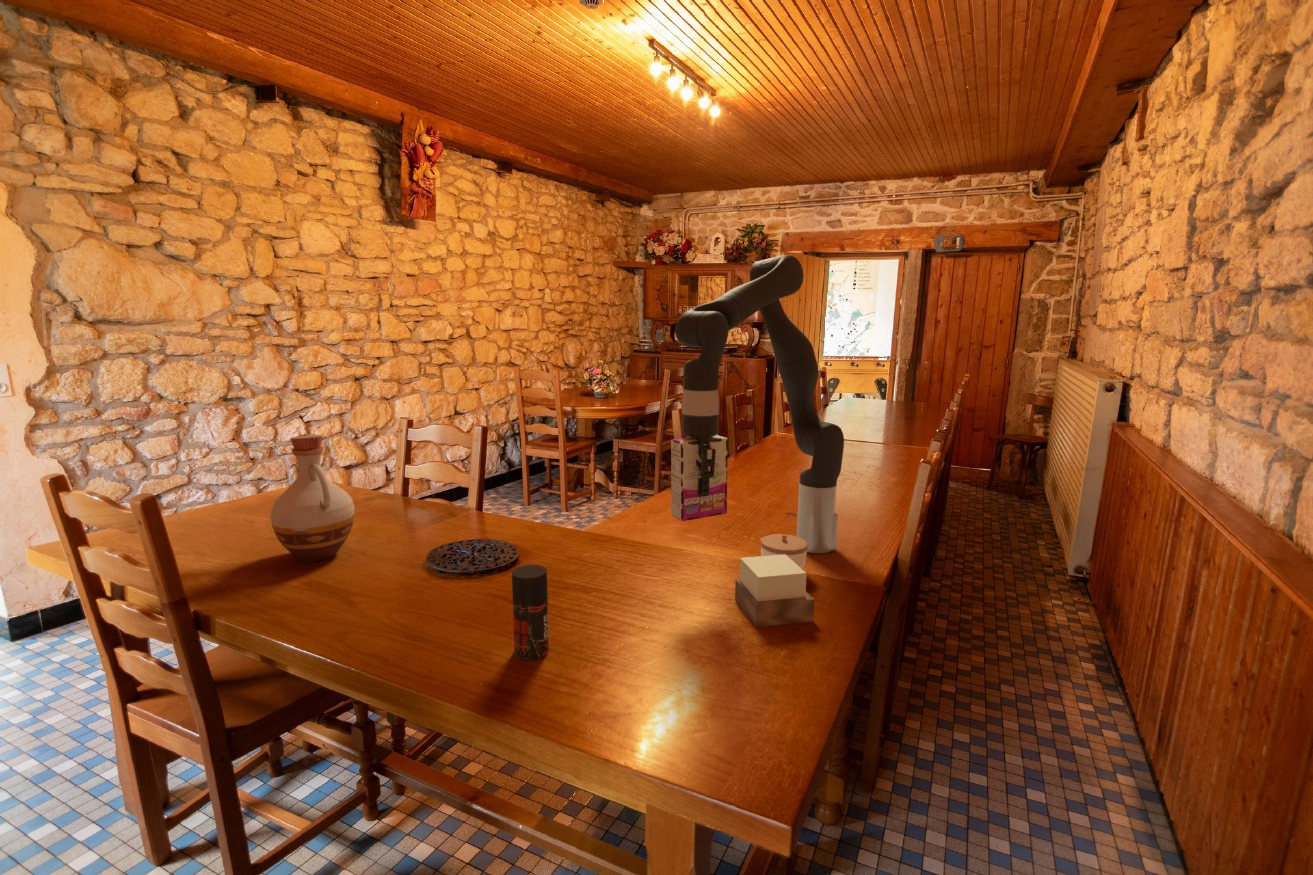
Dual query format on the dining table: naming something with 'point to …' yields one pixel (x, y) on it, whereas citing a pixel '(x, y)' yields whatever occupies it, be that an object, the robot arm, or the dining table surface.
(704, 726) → the dining table surface
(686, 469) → the candy bar box
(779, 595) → the cream square block
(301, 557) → the jug
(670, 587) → the dining table surface
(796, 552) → the lidded jar
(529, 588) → the deodorant
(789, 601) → the walnut slab
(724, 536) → the dining table surface
